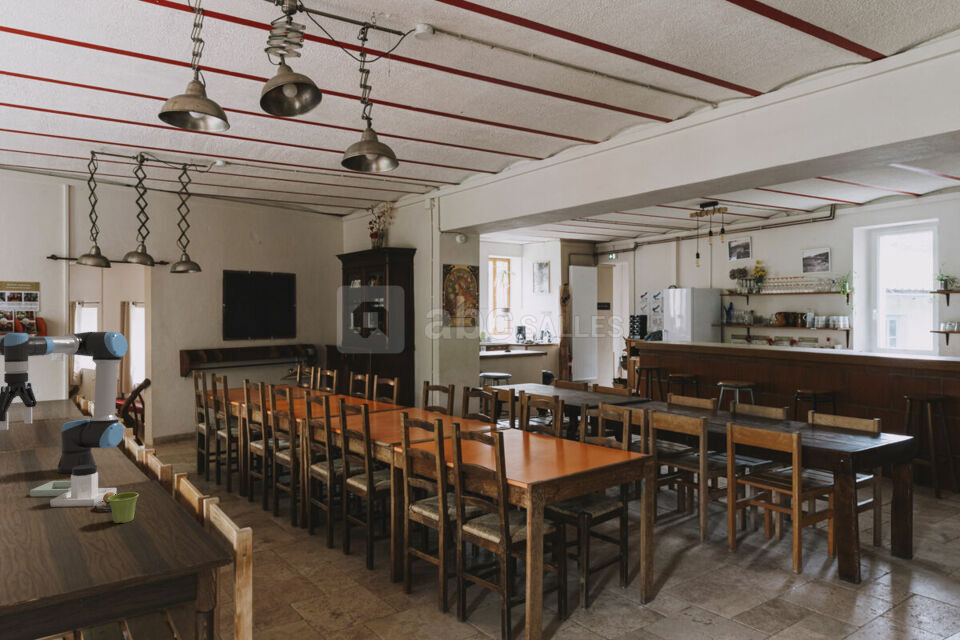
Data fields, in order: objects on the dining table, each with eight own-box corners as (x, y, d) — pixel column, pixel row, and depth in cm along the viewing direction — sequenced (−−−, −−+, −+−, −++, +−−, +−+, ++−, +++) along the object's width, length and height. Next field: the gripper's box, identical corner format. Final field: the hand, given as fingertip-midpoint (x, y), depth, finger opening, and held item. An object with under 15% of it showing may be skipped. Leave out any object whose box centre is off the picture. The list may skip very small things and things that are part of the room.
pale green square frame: (52, 486, 262) (52, 480, 262) (89, 486, 263) (89, 480, 263) (30, 496, 248) (30, 490, 248) (68, 495, 249) (68, 489, 249)
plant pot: (117, 527, 212) (117, 501, 212) (102, 522, 217) (102, 497, 217) (144, 519, 220) (144, 495, 220) (129, 514, 225) (129, 491, 225)
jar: (70, 501, 238) (70, 470, 237) (71, 496, 244) (71, 466, 244) (98, 498, 242) (98, 467, 242) (97, 493, 249) (97, 463, 249)
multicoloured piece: (124, 512, 229) (124, 491, 229) (89, 513, 227) (89, 493, 227) (135, 502, 241) (135, 483, 241) (101, 504, 239) (102, 484, 239)
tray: (75, 494, 251) (75, 488, 251) (116, 493, 252) (116, 487, 252) (50, 506, 235) (50, 499, 235) (94, 505, 236) (94, 499, 236)
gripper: (27, 369, 256) (28, 421, 256) (-18, 375, 231) (-18, 432, 231) (46, 369, 256) (46, 421, 256) (3, 375, 231) (3, 432, 231)
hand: (16, 426), depth 244 cm, fingers open, 13 cm apart
